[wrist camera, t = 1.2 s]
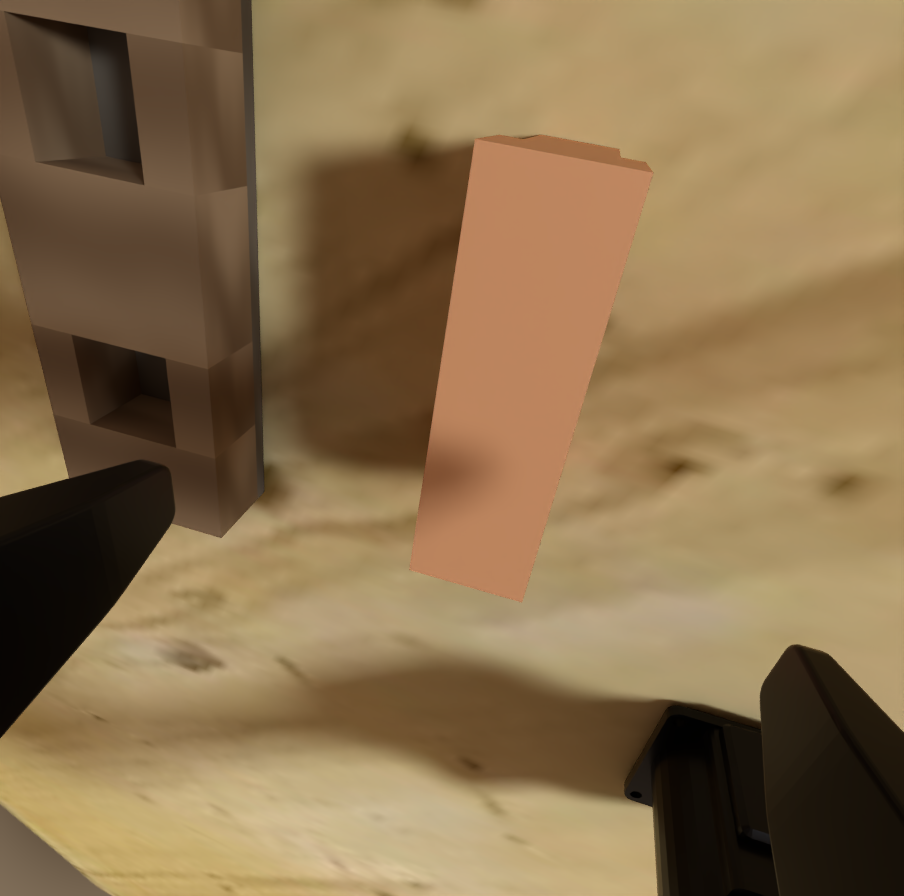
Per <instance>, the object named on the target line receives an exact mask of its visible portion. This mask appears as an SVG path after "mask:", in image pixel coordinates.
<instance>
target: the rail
mask: <svg viewBox="0 0 904 896" xmlns="http://www.w3.org/2000/svg"><path fill="white" fill-rule="evenodd" d="M0 198H1V202H2V206H3V210H4V214H5V218H6V222H7V226H8V230H9V234H10V239H11V243H12V247H13V251H14V255H15V259H16V263H17V267H18V271H19V275H20V279H21V283H22V288H23V292H24V296H25V300H26V304H27V308H28V312H29V316H30V320H31V324H32V328H33V332H34V337H35V341H36V345H37V349H38V353H39V357H40V361H41V365H42V369H43V373H44V377H45V381H46V386H47V390H48V394H49V398H50V402H51V406H52V410H53V414H54V418H55V422H56V426H57V430H58V435H59V439H60V443H61V447H62V451H63V455H64V459H65V463H66V467H67V471H68V475H69V478H72V477H76V476H80V475H83V474H87V473H91V472H94V471H98V470H102V469H105V468H109V467H113V466H116V465H120V464H124V463H127V462H131V461H135V460H139V459H144V460H149V461H152V462H156V463H159V464H163V465H165V466H167V467H168V468H169V470H170V472H171V475H172V483H173V491H174V499H175V507H176V510H175V516H174V519H173V521H172V524H176V525H179V526H182V527H186V528H189V529H193V530H196V531H199V532H203V533H206V534H210V535H213V536H216V537H220V538H222V537H223V536H224V535H225V533H226V532H227V531H228V530H229V529H230V528H231V527H232V526H233V525H234V524H235V523H236V522H237V521H238V519H239V518H240V517H241V516H242V515H243V514H244V513H245V512H246V511H247V510H248V509H249V508H250V506H251V505H252V504H253V503H254V502H255V501H256V500H257V499H258V498H259V497H260V496H261V495H262V494H263V492H264V465H263V427H262V389H261V351H260V313H259V275H258V238H257V200H256V162H255V124H254V86H253V48H252V10H251V0H0Z"/></svg>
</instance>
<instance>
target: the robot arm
mask: <svg viewBox="0 0 904 896" xmlns="http://www.w3.org/2000/svg"><path fill="white" fill-rule="evenodd" d="M175 510H176V507H175V499H174V491H173V483H172V475H171V472H170V470H169V468H168V467H167V466H165V465H163V464H159V463H156V462H152V461H149V460H144V459H139V460H135V461H131V462H127V463H124V464H120V465H116V466H113V467H109V468H105V469H102V470H98V471H94V472H91V473H87V474H83V475H80V476H76V477H72V478H69V479H65V480H61V481H58V482H54V483H50V484H47V485H43V486H39V487H36V488H32V489H28V490H25V491H21V492H17V493H14V494H10V495H6V496H3V497H0V738H1V737H2V736H3V735H4V734H5V732H6V731H7V730H8V729H9V728H10V727H11V725H12V724H13V723H14V722H15V721H16V720H17V719H18V717H19V716H20V715H21V714H22V713H23V712H24V710H25V709H26V708H27V707H28V706H29V705H30V703H31V702H32V701H33V700H34V699H35V698H36V696H37V695H38V694H39V693H40V692H41V691H42V689H43V688H44V687H45V686H46V685H47V684H48V682H49V681H50V680H51V679H52V678H53V677H54V675H55V674H56V673H57V672H58V671H59V670H60V668H61V667H62V666H63V665H64V664H65V663H66V661H67V660H68V659H69V658H70V657H71V656H72V654H73V653H74V652H75V651H76V650H77V649H78V647H79V646H80V645H81V644H82V643H83V642H84V641H85V639H86V638H87V637H88V636H89V635H90V634H91V632H92V631H93V630H94V629H95V628H96V627H97V625H98V624H99V623H100V622H101V621H102V620H103V618H104V617H105V616H106V615H107V613H108V612H109V611H110V610H111V609H112V607H113V606H114V605H115V603H116V602H117V601H118V599H119V598H120V597H121V595H122V594H123V593H124V591H125V590H126V588H127V587H128V586H129V584H130V583H131V581H132V580H133V578H134V577H135V575H136V574H137V573H138V571H139V570H140V568H141V567H142V565H143V564H144V563H145V561H146V560H147V558H148V557H149V555H150V554H151V553H152V551H153V550H154V548H155V547H156V545H157V544H158V543H159V541H160V540H161V538H162V537H163V535H164V534H165V533H166V531H167V530H168V528H169V527H170V525H171V524H172V521H173V519H174V516H175ZM760 713H761V730H759V729H756V728H753V727H749V726H746V725H743V724H739V723H736V722H733V721H729V720H726V719H723V718H719V717H716V716H713V715H709V714H706V713H703V712H700V711H696V710H693V709H690V708H686V707H683V706H672V707H669V708H668V709H667V710H666V712H665V713H664V715H663V717H662V719H661V720H660V722H659V724H658V725H657V727H656V729H655V731H654V732H653V734H652V736H651V738H650V739H649V741H648V743H647V745H646V746H645V748H644V750H643V752H642V753H641V755H640V757H639V759H638V760H637V762H636V764H635V766H634V767H633V769H632V771H631V772H630V774H629V776H628V778H627V779H626V781H625V784H624V794H625V796H626V797H627V798H628V799H630V800H633V801H636V802H639V803H642V804H645V805H648V806H651V807H653V822H654V840H655V857H656V874H657V891H658V896H904V732H903V731H902V730H901V729H900V728H899V727H898V726H897V725H896V724H895V723H894V722H893V721H892V720H891V718H890V717H889V716H888V715H887V714H886V713H885V712H884V711H883V710H882V709H881V708H880V707H879V706H878V705H877V704H876V703H875V702H874V701H873V700H872V699H871V698H870V697H869V695H868V694H867V693H866V692H865V691H864V690H863V689H862V688H861V687H860V686H859V685H858V684H857V683H856V682H855V681H854V680H853V679H852V678H851V677H850V676H849V675H848V673H847V672H846V671H845V670H844V669H843V668H842V667H841V666H840V665H839V664H838V663H837V662H836V661H835V660H834V659H833V658H832V657H831V656H830V655H829V654H827V653H825V652H823V651H820V650H816V649H813V648H809V647H806V646H802V645H798V644H796V645H791V646H789V647H788V648H787V649H786V650H785V651H784V653H783V654H782V656H781V657H780V659H779V660H778V662H777V663H776V664H775V666H774V667H773V669H772V670H771V672H770V673H769V675H768V676H767V678H766V679H765V681H764V683H763V685H762V688H761V692H760Z"/></svg>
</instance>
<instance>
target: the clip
mask: <svg viewBox="0 0 904 896" xmlns="http://www.w3.org/2000/svg"><path fill="white" fill-rule="evenodd" d="M652 176H653V171H652V170H651V169H650V167H649V166H648V165H647V163H646V162H642V161H636V160H631V159H625V158H621V156H620V151H619V149H615V148H610V147H605V146H599V145H594V144H588V143H583V142H578V141H572V140H567V139H562V138H556V137H551V136H545V135H538V136H534V137H530V138H527V139H519V138H513V137H508V136H503V135H496V136H490V137H484V138H478V139H475V143H474V149H473V156H472V162H471V169H470V176H469V182H468V189H467V195H466V202H465V208H464V215H463V222H462V228H461V235H460V241H459V248H458V254H457V261H456V267H455V274H454V281H453V287H452V294H451V300H450V307H449V313H448V320H447V326H446V333H445V340H444V346H443V353H442V359H441V366H440V372H439V379H438V385H437V392H436V399H435V405H434V412H433V418H432V425H431V431H430V438H429V444H428V451H427V458H426V464H425V471H424V477H423V484H422V490H421V497H420V504H419V510H418V517H417V523H416V530H415V536H414V543H413V549H412V556H411V563H410V569H409V570H412V571H415V572H419V573H422V574H426V575H429V576H433V577H436V578H439V579H443V580H446V581H450V582H453V583H457V584H460V585H464V586H467V587H471V588H474V589H478V590H481V591H484V592H488V593H491V594H495V595H498V596H502V597H505V598H509V599H512V600H516V601H519V602H522V601H523V598H524V594H525V591H526V588H527V585H528V581H529V578H530V575H531V571H532V568H533V565H534V562H535V558H536V555H537V552H538V549H539V545H540V542H541V539H542V535H543V532H544V529H545V526H546V522H547V519H548V516H549V513H550V509H551V506H552V503H553V499H554V496H555V493H556V490H557V486H558V483H559V480H560V477H561V473H562V470H563V467H564V464H565V460H566V457H567V454H568V450H569V447H570V444H571V441H572V437H573V434H574V431H575V428H576V424H577V421H578V418H579V414H580V411H581V408H582V405H583V401H584V398H585V395H586V392H587V388H588V385H589V382H590V378H591V375H592V372H593V369H594V365H595V362H596V359H597V356H598V352H599V349H600V346H601V343H602V339H603V336H604V333H605V329H606V326H607V323H608V320H609V316H610V313H611V310H612V307H613V303H614V300H615V297H616V293H617V290H618V287H619V284H620V280H621V277H622V274H623V271H624V267H625V264H626V261H627V257H628V254H629V251H630V248H631V244H632V241H633V238H634V235H635V231H636V228H637V225H638V221H639V218H640V215H641V212H642V208H643V205H644V202H645V199H646V195H647V192H648V189H649V186H650V182H651V179H652Z"/></svg>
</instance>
